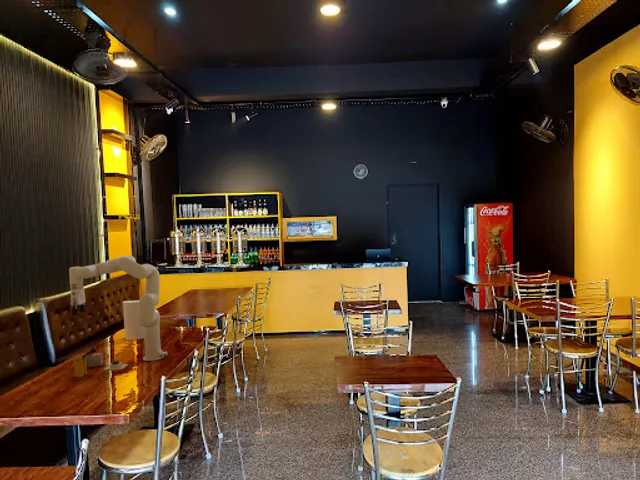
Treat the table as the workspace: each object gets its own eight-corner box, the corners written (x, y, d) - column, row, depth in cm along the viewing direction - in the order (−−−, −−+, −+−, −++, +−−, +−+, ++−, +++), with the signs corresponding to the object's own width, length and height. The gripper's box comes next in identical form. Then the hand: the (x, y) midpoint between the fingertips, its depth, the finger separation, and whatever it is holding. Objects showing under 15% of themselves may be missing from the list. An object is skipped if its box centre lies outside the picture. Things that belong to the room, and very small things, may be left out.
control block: (128, 367, 299) (127, 360, 298) (122, 372, 290) (122, 365, 289) (109, 368, 298) (109, 361, 298) (103, 373, 289) (103, 366, 289)
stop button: (119, 363, 296) (119, 360, 296) (117, 364, 292) (117, 361, 292) (113, 363, 296) (113, 360, 296) (111, 365, 292) (111, 362, 292)
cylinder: (144, 339, 373) (142, 301, 372) (121, 340, 373) (118, 303, 372) (152, 333, 390) (150, 298, 389) (130, 335, 390) (128, 299, 389)
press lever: (98, 350, 283) (95, 345, 283) (95, 351, 280) (92, 346, 280) (80, 361, 283) (77, 356, 283) (77, 363, 280) (74, 358, 280)
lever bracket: (93, 375, 286) (91, 353, 285) (86, 379, 278) (85, 357, 277) (75, 376, 286) (73, 354, 285) (68, 380, 278) (67, 357, 277)
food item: (105, 365, 306) (104, 349, 306) (100, 369, 298) (99, 352, 298) (82, 366, 305) (81, 350, 305) (76, 370, 297) (75, 354, 297)
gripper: (76, 288, 305) (78, 315, 305) (89, 284, 322) (90, 310, 322) (64, 288, 304) (65, 316, 305) (77, 285, 322) (79, 311, 322)
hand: (78, 313), depth 314 cm, fingers open, 9 cm apart
